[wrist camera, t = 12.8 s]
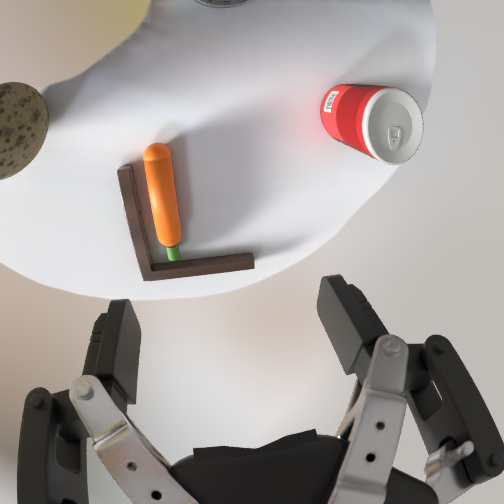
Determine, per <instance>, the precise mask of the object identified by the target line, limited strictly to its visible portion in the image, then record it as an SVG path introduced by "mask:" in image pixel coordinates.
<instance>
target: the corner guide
mask: <svg viewBox="0 0 504 504" xmlns="http://www.w3.org/2000/svg"><path fill="white" fill-rule="evenodd" d="M117 176H118V181H119V186H120V191H121V196H122V201H123V205H124V210H125V214H126V218H127V223H128V227H129V231H130V235H131V239H132V242H133V246H134V250H135V253H136V257H137V261H138V264H139V267H140V271H141V274H142V277H143V281H155V280H164V279H173V278H182V277H190V276H199V275H207V274H216V273H224V272H232V271H240V270H248V269H254V257H253V254H252V253H244V254H236V255H227V256H219V257H210V258H202V259H193V260H185V261H177V262H168V263H160V264H153V262H152V258H151V254H150V250H149V246H148V242H147V238H146V233H145V229H144V225H143V220H142V215H141V211H140V206H139V201H138V195H137V190H136V185H135V179H134V173H133V167H132V165H128V166H122V167H120V168H119V169H118V170H117Z"/></svg>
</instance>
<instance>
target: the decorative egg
mask: <svg viewBox="0 0 504 504" xmlns="http://www.w3.org/2000/svg"><path fill="white" fill-rule="evenodd" d="M48 122H49V116H48V109H47V106H46V103H45V101H44V99H43V97H42V96H41V94H40V93H39V92H38V91H37V90H36V89H34V88H33V87H31V86H29V85H27V84H24V83H19V82H9V83H3V84H0V180H3V179H6V178H8V177H11V176H13V175H15V174H16V173H18V172H20V171H21V170H22V169H24V168H25V167H26V166H27V165H28V164H29V163H30V162H31V161H32V160H33V159H34V158H35V156H36V155H37V154H38V152H39V150H40V149H41V147H42V145H43V143H44V140H45V137H46V134H47V130H48Z"/></svg>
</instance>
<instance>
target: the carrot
mask: <svg viewBox="0 0 504 504" xmlns="http://www.w3.org/2000/svg"><path fill="white" fill-rule="evenodd" d="M144 166H145V172H146V178H147V185H148V190H149V196H150V202H151V207H152V212H153V218H154V223H155V228H156V232H157V237H158V240H159V241H160V243H161V244H163V245H164V246H166V250H167V255H168V259H169V260H171V261H175V260H178V259H179V258H180V253H179V248H178V243H179V241H180V240H181V237H182V229H181V223H180V217H179V210H178V203H177V196H176V189H175V181H174V174H173V165H172V157H171V151H170V149H169V148H168V147H167V146H166V145H165V144H162V143H154V144H152V145H150V146H149V147H148V148H147V149H146V150H145V152H144Z"/></svg>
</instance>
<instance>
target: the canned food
mask: <svg viewBox="0 0 504 504" xmlns="http://www.w3.org/2000/svg"><path fill="white" fill-rule="evenodd" d="M320 113H321V120H322V123H323V125H324V127H325V129H326V131H327V132H328V133H329V135H330V136H332V137H333V138H334V139H335V140H337V141H339V142H341V143H343V144H345V145H348V146H350V147H352V148H354V149H356V150H358V151H360V152H362V153H364V154H366V155H368V156H370V157H372V158H374V159H377V160H379V161H381V162H383V163H386V164H389V165H398V164H402V163H404V162H406V161H407V160H409V159H410V158H411V157H412V156H413V155H414V154H415V152H416V151H417V149H418V147H419V145H420V143H421V140H422V136H423V117H422V113H421V110H420V108H419V106H418V103H417V102H416V101H415V99H414V98H413V97H412V96H411V95H410V94H409V93H407V92H405V91H404V90H401V89H397V88H393V87H386V86H374V85H359V84H342V85H338V86H336V87H334V88H333V89H331V90H330V91H329V92H328V93H327V94H326V95H325V97H324V99H323V101H322V104H321V112H320Z"/></svg>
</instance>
